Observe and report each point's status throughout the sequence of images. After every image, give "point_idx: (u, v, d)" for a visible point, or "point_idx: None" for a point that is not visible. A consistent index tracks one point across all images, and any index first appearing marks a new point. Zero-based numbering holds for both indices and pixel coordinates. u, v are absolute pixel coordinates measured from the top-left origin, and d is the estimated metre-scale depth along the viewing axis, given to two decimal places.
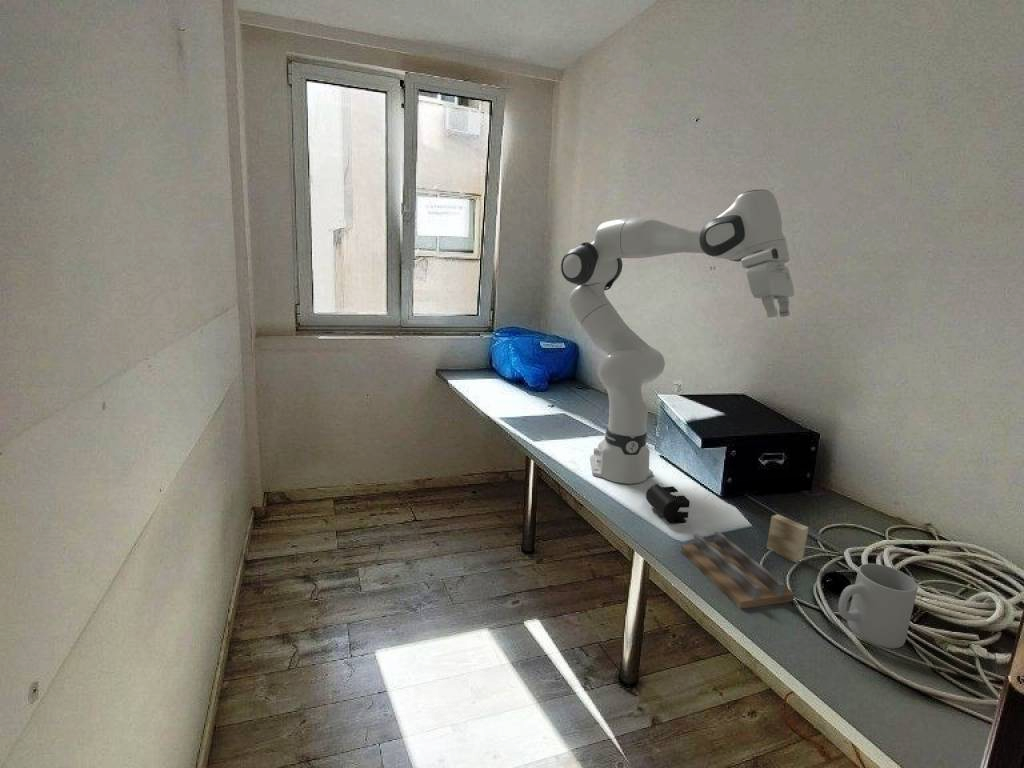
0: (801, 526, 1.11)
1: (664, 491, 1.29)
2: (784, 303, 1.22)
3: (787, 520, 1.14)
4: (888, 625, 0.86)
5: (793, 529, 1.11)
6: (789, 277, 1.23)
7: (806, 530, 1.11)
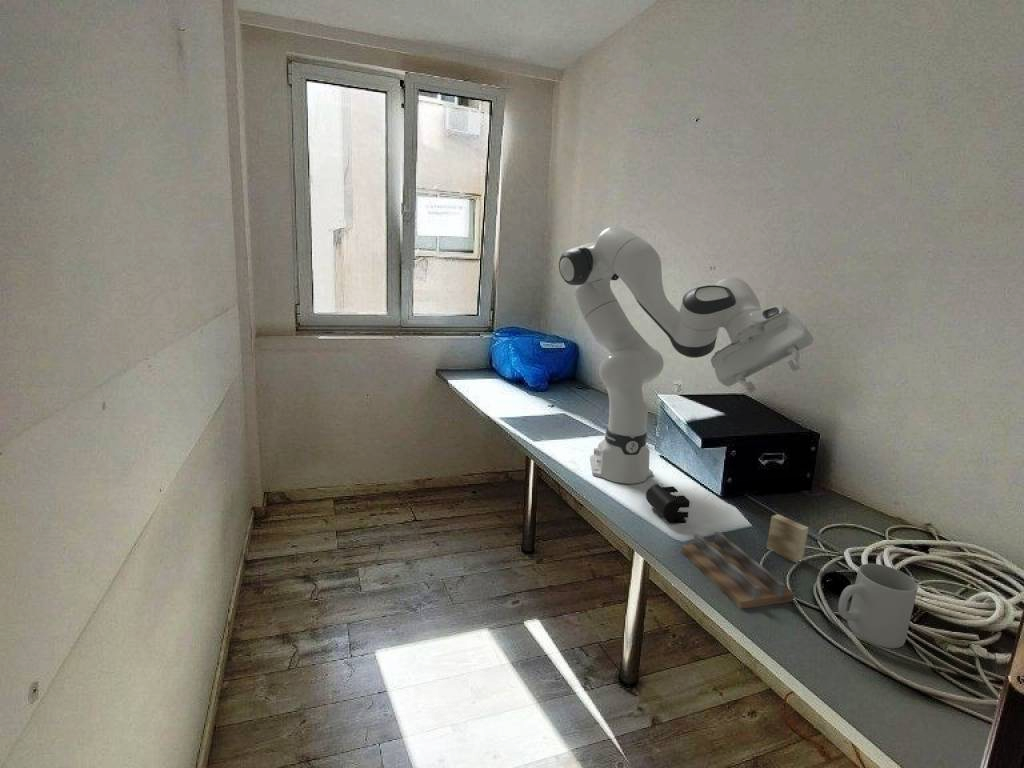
0: (801, 526, 1.11)
1: (664, 491, 1.29)
2: None
3: (787, 520, 1.14)
4: (888, 625, 0.86)
5: (793, 529, 1.11)
6: None
7: (806, 530, 1.11)
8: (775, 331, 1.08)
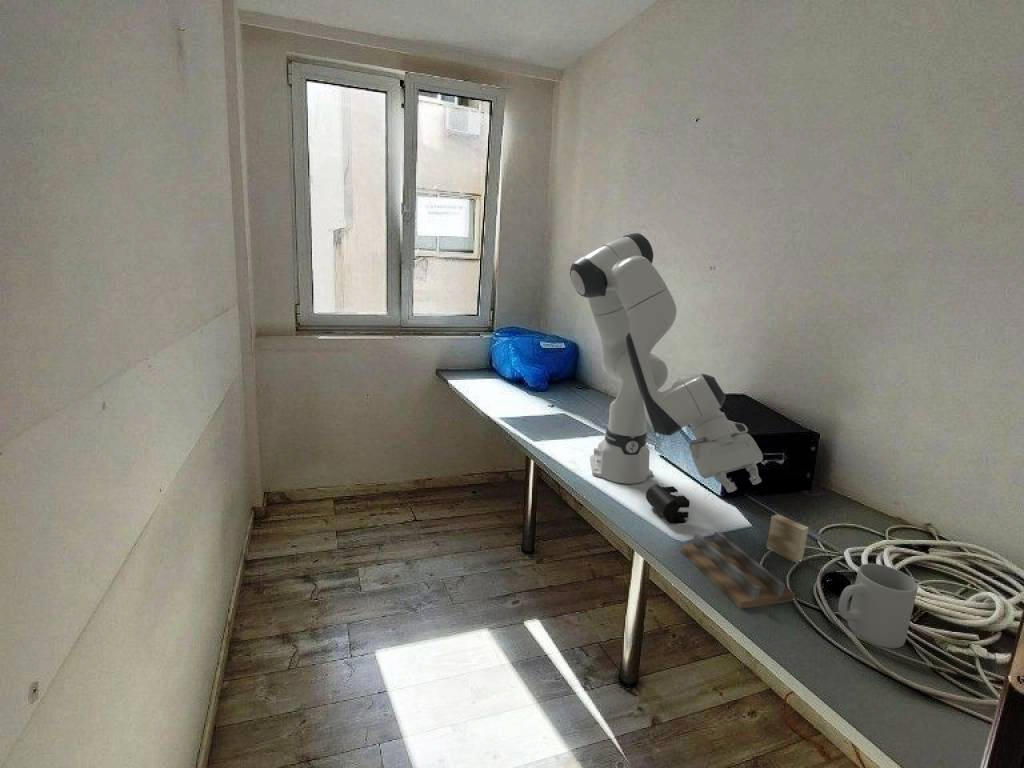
0: (801, 526, 1.11)
1: (664, 491, 1.29)
2: None
3: (787, 520, 1.14)
4: (888, 625, 0.86)
5: (793, 529, 1.11)
6: None
7: (806, 530, 1.11)
8: (740, 444, 1.25)
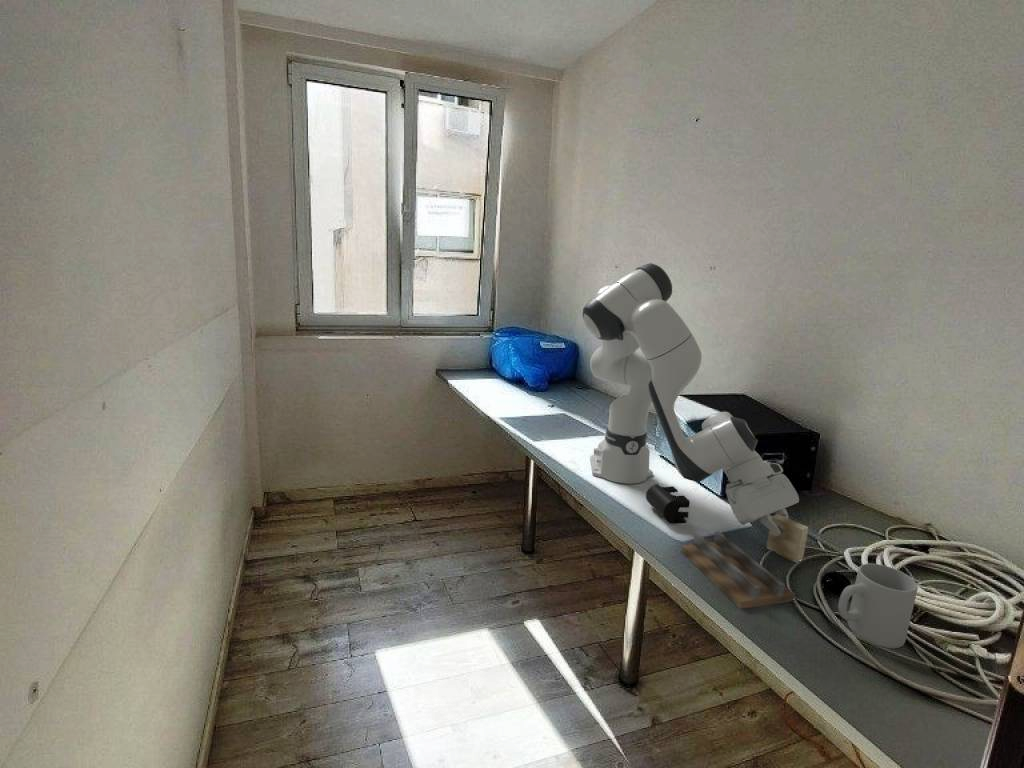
0: (801, 526, 1.11)
1: (664, 491, 1.30)
2: None
3: (787, 520, 1.14)
4: (888, 625, 0.86)
5: (793, 529, 1.11)
6: None
7: (806, 530, 1.11)
8: (776, 486, 1.20)
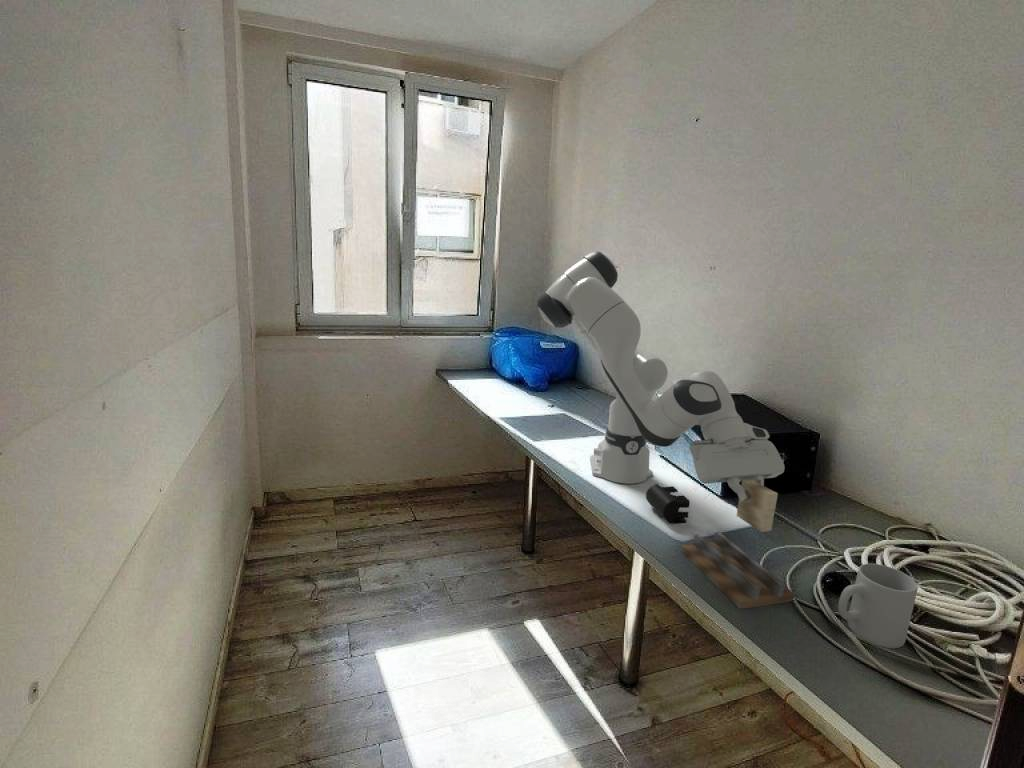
0: (769, 491, 1.01)
1: (664, 491, 1.29)
2: None
3: (758, 485, 1.04)
4: (888, 625, 0.86)
5: (760, 494, 1.01)
6: None
7: (775, 496, 1.00)
8: (757, 451, 1.10)
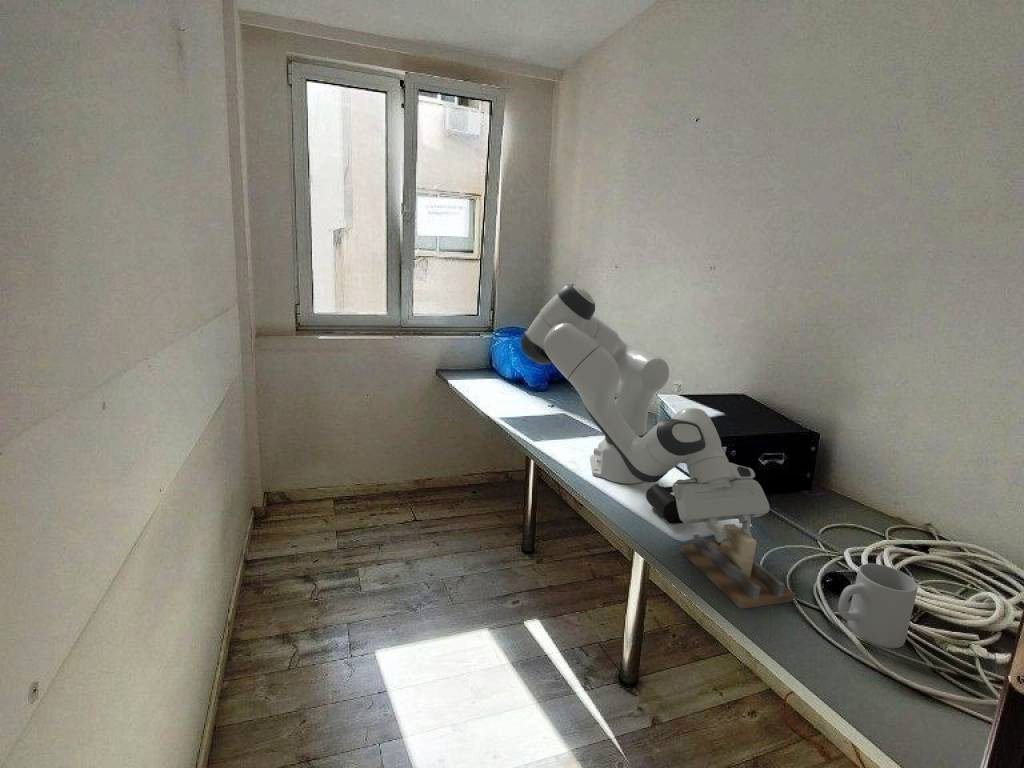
0: (748, 538, 1.02)
1: (664, 491, 1.29)
2: None
3: (738, 531, 1.05)
4: (888, 625, 0.86)
5: (739, 540, 1.03)
6: None
7: (754, 544, 1.01)
8: (741, 491, 1.10)
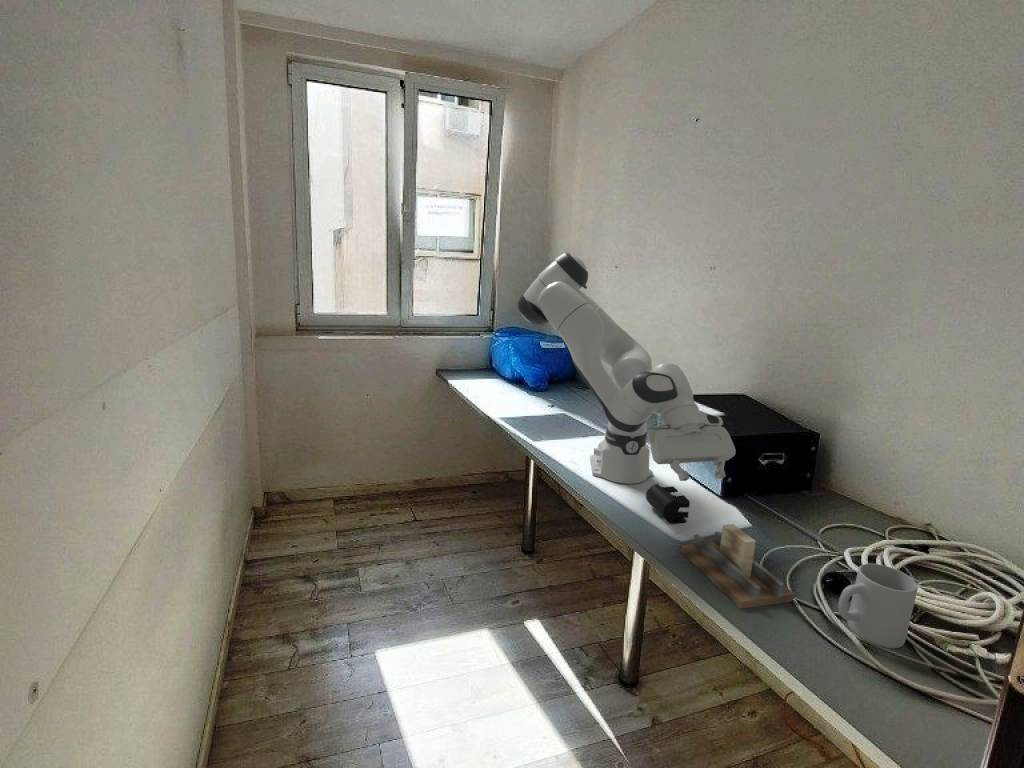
0: (747, 538, 1.02)
1: (664, 491, 1.29)
2: None
3: (737, 531, 1.05)
4: (888, 625, 0.86)
5: (738, 541, 1.03)
6: None
7: (753, 544, 1.01)
8: (710, 436, 1.21)
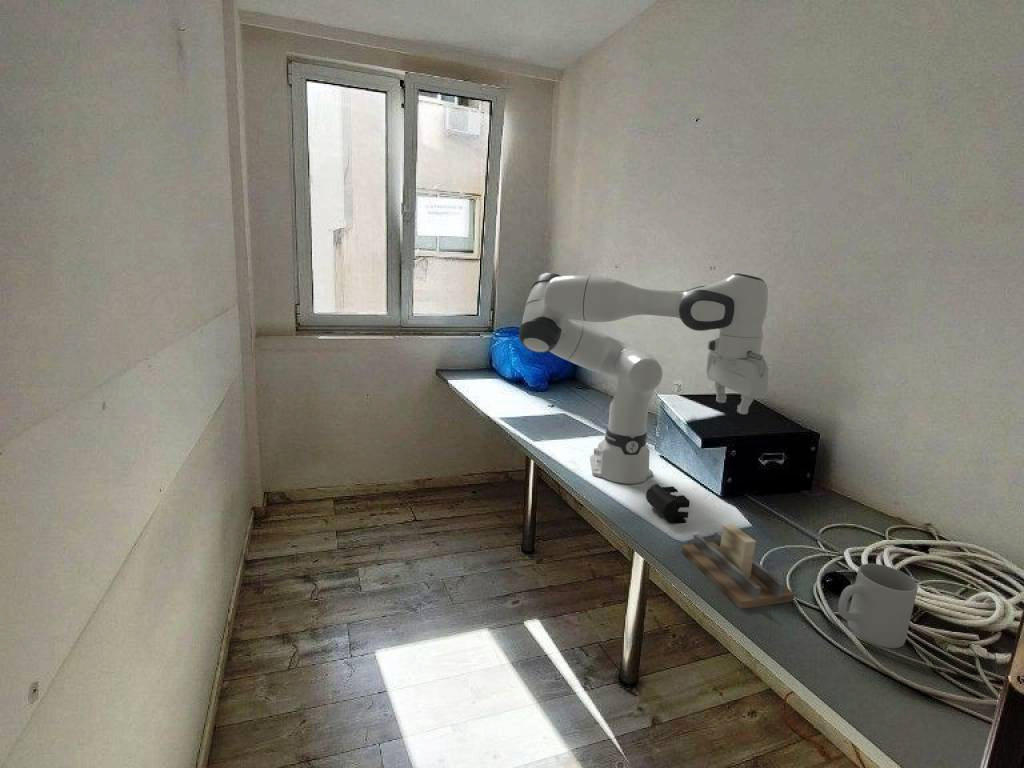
0: (747, 538, 1.02)
1: (664, 491, 1.30)
2: None
3: (737, 531, 1.05)
4: (888, 625, 0.86)
5: (738, 541, 1.03)
6: (748, 376, 1.07)
7: (753, 544, 1.01)
8: None
